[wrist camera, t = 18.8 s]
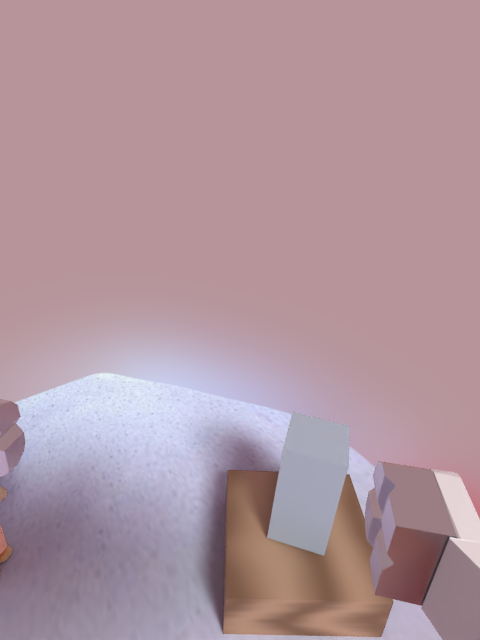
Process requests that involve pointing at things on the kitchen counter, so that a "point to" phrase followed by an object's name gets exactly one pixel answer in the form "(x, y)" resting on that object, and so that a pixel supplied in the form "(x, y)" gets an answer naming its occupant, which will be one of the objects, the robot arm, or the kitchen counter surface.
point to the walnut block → (296, 569)
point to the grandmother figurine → (3, 551)
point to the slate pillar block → (309, 482)
